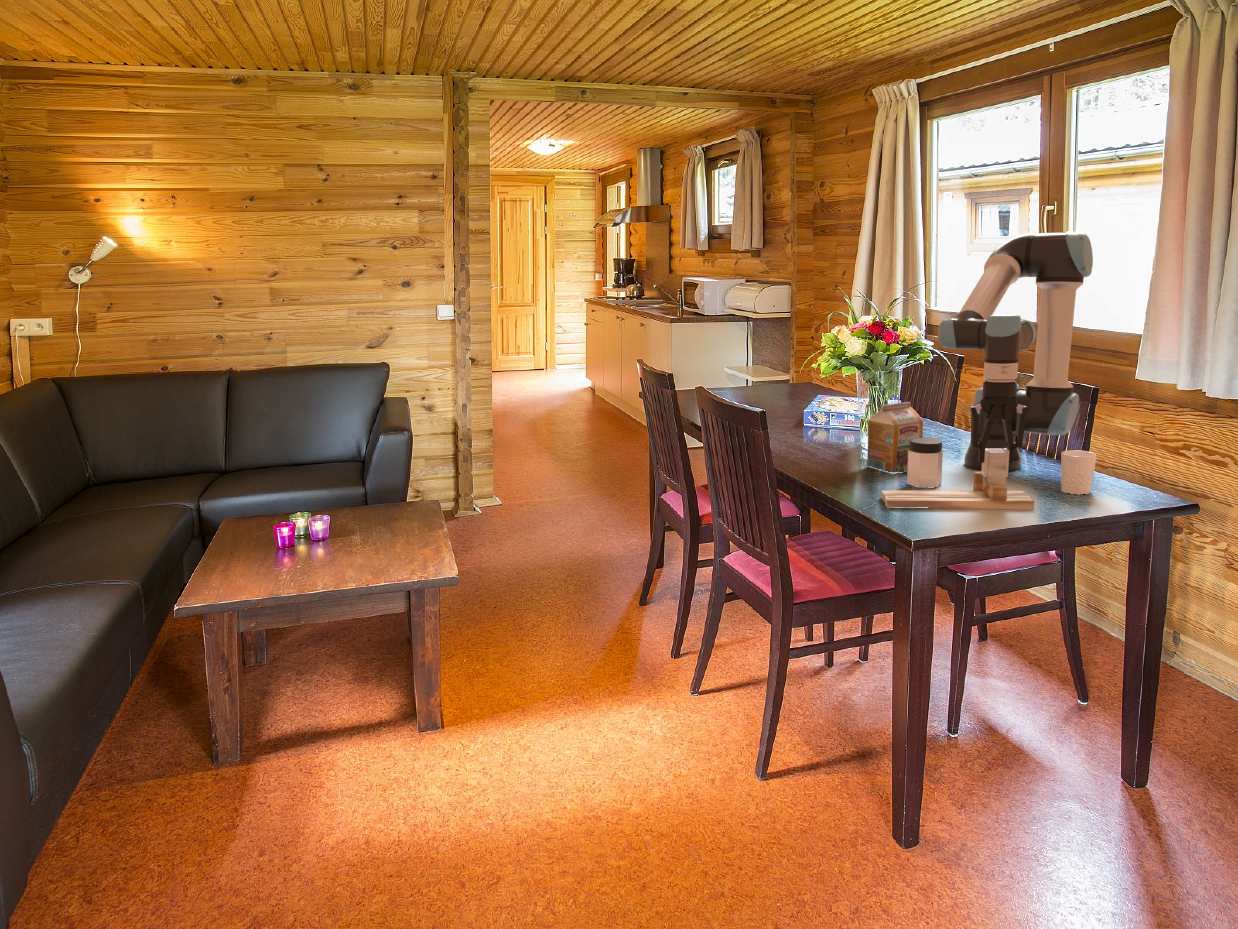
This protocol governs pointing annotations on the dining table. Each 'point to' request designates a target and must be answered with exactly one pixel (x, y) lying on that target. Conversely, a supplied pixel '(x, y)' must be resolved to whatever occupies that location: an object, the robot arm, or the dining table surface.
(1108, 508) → the dining table surface
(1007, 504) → the board
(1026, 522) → the dining table surface
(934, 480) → the jar
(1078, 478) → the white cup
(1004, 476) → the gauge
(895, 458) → the milk carton
